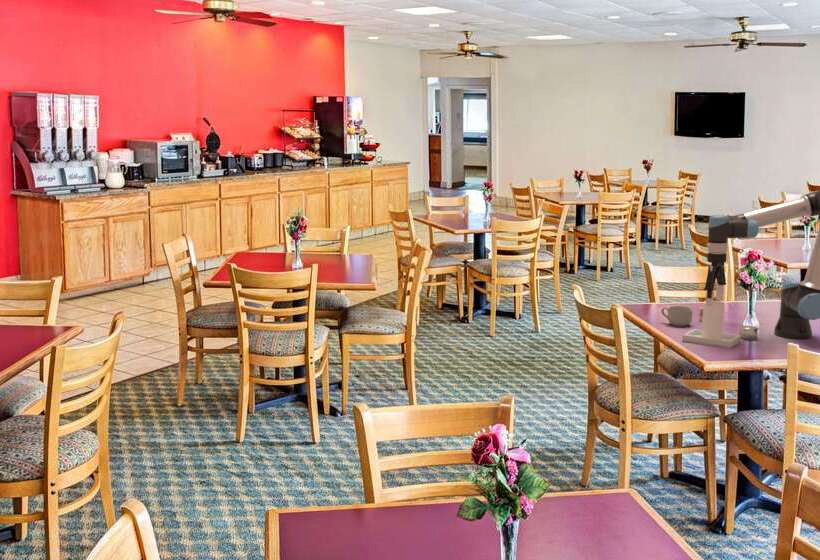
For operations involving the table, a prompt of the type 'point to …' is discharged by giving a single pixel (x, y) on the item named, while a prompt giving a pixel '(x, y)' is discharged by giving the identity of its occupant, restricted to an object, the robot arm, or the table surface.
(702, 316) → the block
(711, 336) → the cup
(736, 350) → the table surface
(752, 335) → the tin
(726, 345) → the tray
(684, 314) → the teacup
